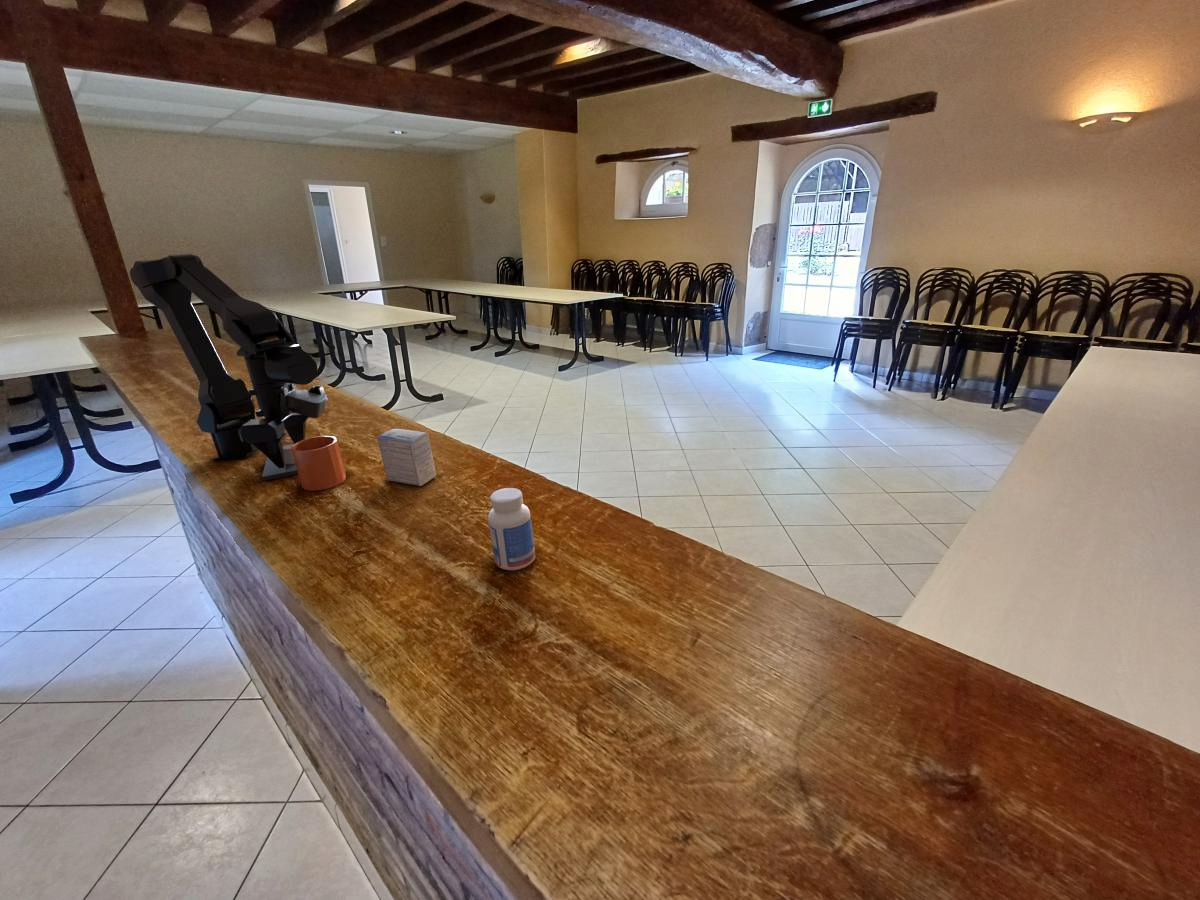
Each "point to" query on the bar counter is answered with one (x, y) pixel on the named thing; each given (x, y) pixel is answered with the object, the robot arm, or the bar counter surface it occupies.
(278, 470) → the grey lid with knob
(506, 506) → the pill bottle
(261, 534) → the bar counter surface
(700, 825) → the bar counter surface
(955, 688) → the bar counter surface
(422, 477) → the stack of paper cards
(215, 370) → the robot arm
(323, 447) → the cup
